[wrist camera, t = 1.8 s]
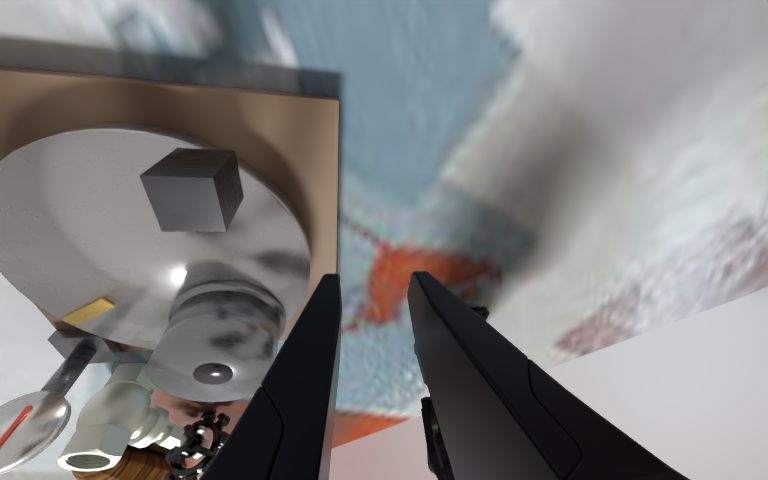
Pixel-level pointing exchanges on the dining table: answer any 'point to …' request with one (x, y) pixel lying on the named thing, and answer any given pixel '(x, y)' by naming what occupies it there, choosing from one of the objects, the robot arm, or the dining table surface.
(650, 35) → the dining table surface
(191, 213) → the turntable
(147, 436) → the valve
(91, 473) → the croissant
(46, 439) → the dial gauge
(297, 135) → the base board
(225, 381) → the cover
